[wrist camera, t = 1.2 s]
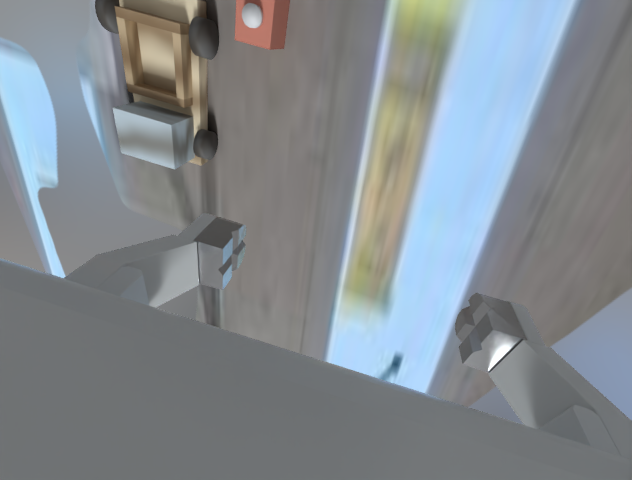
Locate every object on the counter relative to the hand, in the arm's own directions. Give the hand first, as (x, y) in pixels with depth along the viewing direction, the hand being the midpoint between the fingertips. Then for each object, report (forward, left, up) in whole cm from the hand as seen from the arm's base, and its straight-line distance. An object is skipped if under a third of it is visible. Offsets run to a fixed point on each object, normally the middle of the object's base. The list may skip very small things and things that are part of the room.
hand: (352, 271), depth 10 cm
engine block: (-6, -16, -33) cm, 36 cm away
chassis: (+4, -29, -32) cm, 43 cm away
